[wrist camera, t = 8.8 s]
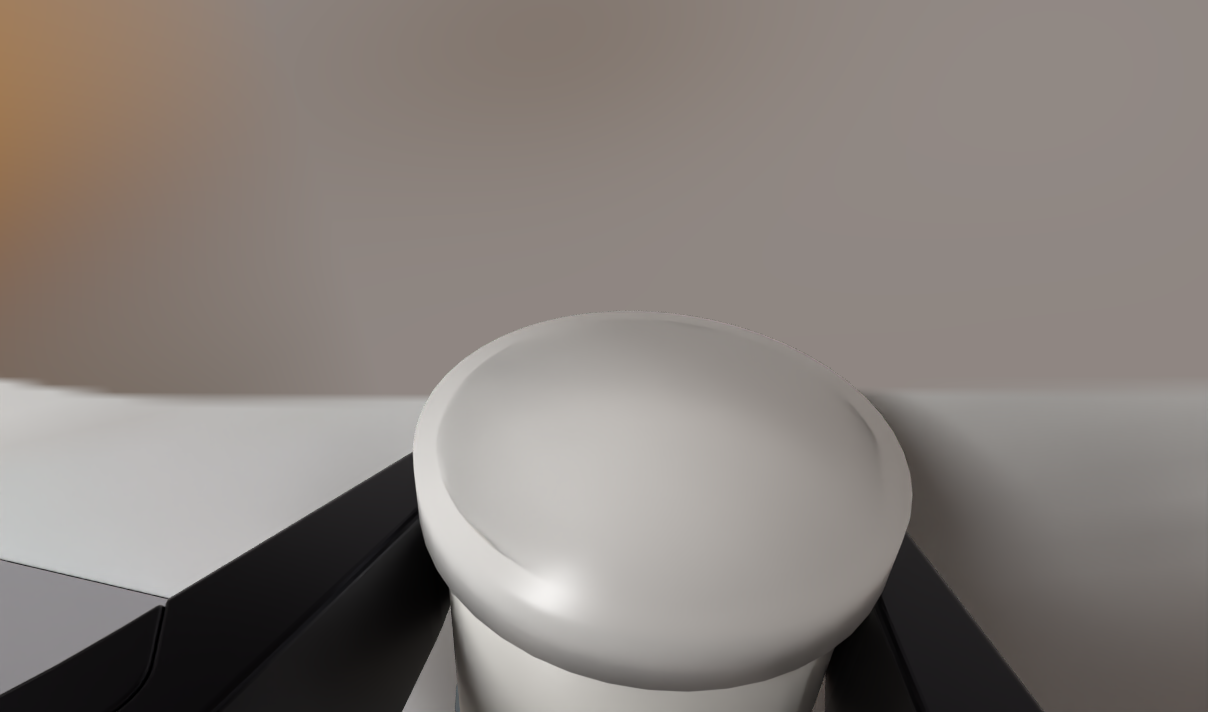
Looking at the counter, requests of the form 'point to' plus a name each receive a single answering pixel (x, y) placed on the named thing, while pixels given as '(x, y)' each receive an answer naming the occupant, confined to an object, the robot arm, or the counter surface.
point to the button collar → (56, 618)
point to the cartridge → (653, 516)
